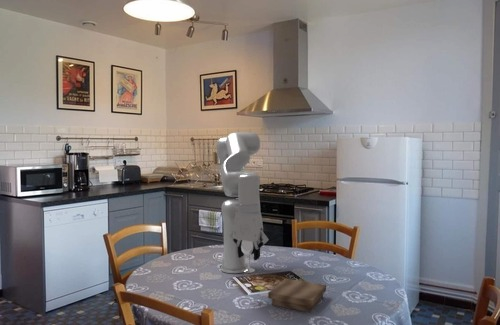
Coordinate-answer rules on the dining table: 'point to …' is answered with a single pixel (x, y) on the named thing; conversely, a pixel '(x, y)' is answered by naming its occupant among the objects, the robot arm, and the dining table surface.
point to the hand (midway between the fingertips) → (248, 257)
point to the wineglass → (248, 253)
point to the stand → (297, 294)
